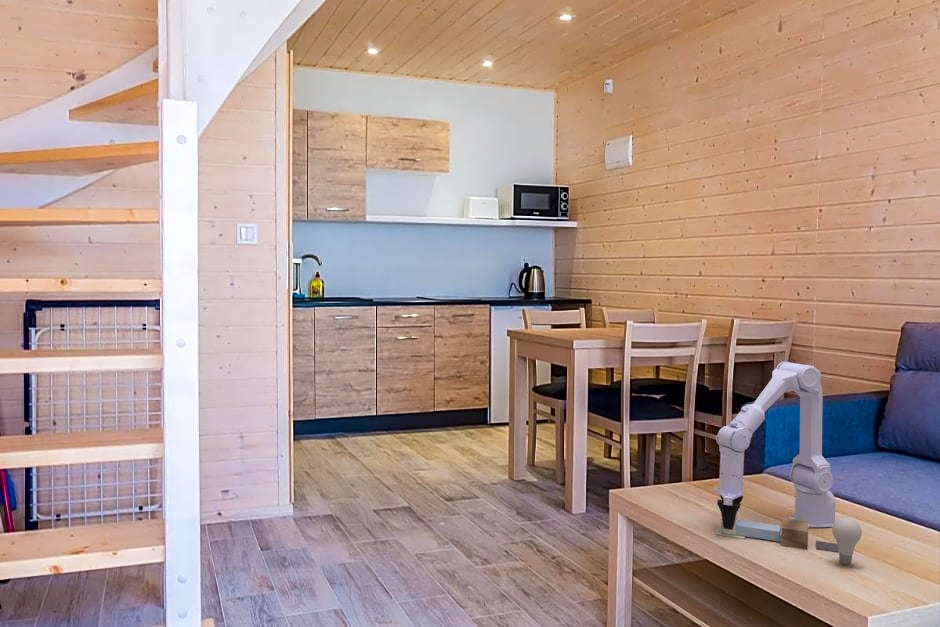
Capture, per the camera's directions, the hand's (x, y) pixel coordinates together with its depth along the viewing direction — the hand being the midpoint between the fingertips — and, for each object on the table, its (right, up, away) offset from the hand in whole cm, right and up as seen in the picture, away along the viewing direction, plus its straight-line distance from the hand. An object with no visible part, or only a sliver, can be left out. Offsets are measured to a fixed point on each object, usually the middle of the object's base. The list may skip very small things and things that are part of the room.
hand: (729, 525), depth 197 cm
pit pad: (+21, -3, -9) cm, 24 cm away
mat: (0, -2, 0) cm, 2 cm away
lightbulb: (+20, -3, -21) cm, 29 cm away
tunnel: (+14, -2, -6) cm, 16 cm away
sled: (+5, -2, -2) cm, 5 cm away
